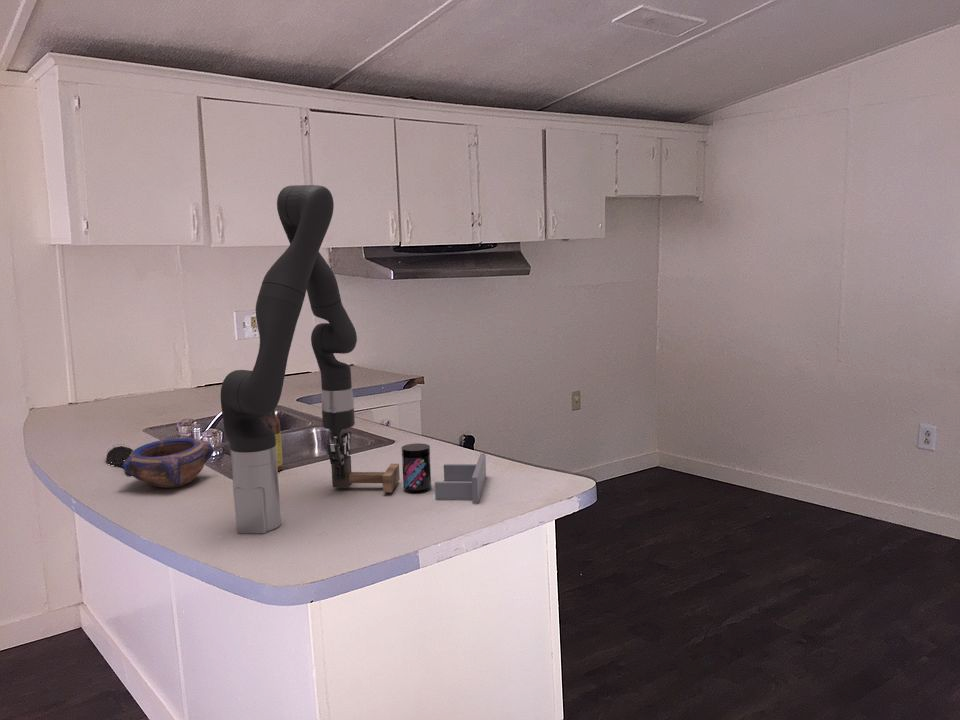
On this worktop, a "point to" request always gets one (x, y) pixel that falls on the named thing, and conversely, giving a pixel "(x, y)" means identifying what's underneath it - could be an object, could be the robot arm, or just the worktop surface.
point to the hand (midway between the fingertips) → (341, 477)
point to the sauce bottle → (274, 425)
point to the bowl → (169, 461)
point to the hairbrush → (118, 456)
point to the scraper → (367, 476)
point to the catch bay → (462, 473)
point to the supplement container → (416, 468)
